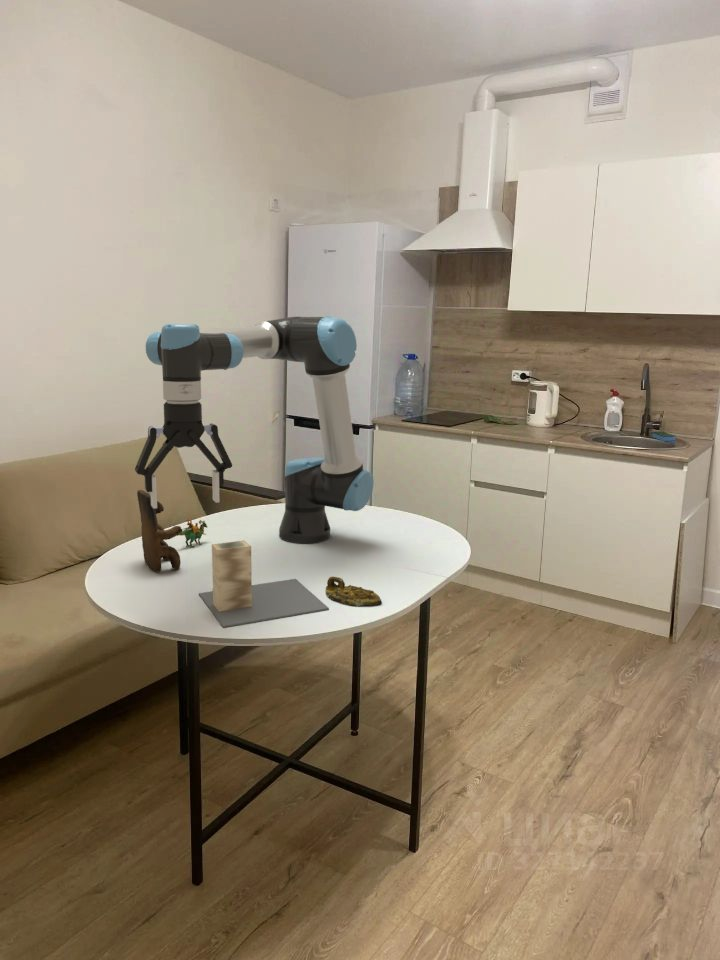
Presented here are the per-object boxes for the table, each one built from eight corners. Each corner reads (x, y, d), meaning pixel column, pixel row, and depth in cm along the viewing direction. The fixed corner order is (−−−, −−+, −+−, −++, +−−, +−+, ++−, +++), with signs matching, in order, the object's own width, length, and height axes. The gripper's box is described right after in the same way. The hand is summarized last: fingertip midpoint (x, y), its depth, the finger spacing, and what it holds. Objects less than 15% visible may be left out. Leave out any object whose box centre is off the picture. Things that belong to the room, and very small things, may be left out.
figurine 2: (211, 542, 207) (210, 515, 205) (177, 552, 197) (176, 523, 195) (203, 540, 208) (203, 513, 207) (170, 550, 199) (169, 521, 197)
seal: (390, 603, 170) (334, 590, 176) (391, 583, 169) (335, 571, 176) (372, 612, 161) (314, 598, 168) (374, 592, 161) (316, 578, 167)
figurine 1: (188, 569, 184) (180, 492, 179) (159, 577, 180) (150, 498, 175) (167, 556, 194) (159, 482, 189) (139, 563, 190) (130, 488, 185)
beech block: (245, 599, 165) (244, 540, 162) (251, 606, 162) (251, 546, 158) (213, 604, 162) (211, 544, 159) (218, 611, 158) (217, 550, 155)
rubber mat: (295, 580, 179) (295, 578, 179) (328, 609, 162) (328, 608, 161) (198, 594, 168) (198, 593, 168) (223, 628, 151) (223, 626, 151)
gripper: (122, 405, 139) (128, 514, 144) (246, 401, 150) (247, 502, 154) (117, 401, 146) (122, 505, 150) (235, 397, 156) (237, 494, 161)
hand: (185, 504), depth 152 cm, fingers open, 12 cm apart
